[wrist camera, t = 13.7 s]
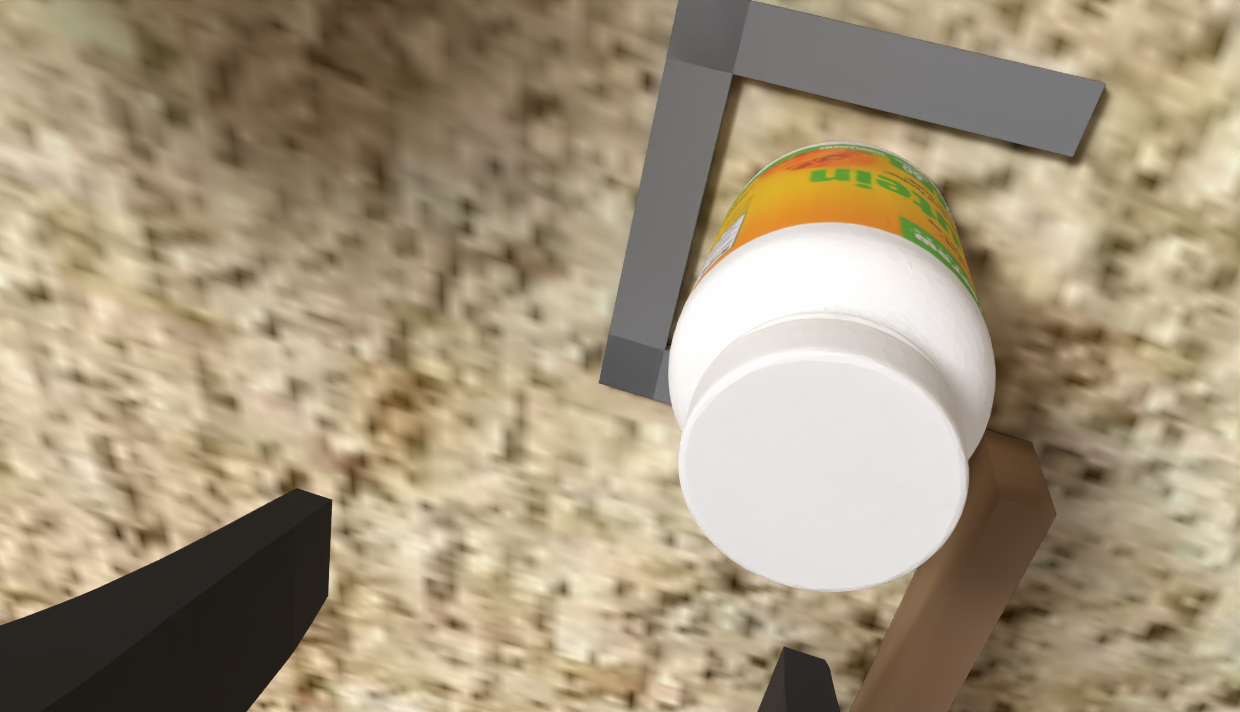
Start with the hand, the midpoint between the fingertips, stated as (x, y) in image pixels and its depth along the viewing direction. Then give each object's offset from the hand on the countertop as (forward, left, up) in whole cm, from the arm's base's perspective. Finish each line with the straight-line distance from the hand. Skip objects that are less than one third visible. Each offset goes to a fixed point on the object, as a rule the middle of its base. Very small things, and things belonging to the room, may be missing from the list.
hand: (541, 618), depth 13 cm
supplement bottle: (-3, -3, -11) cm, 12 cm away
